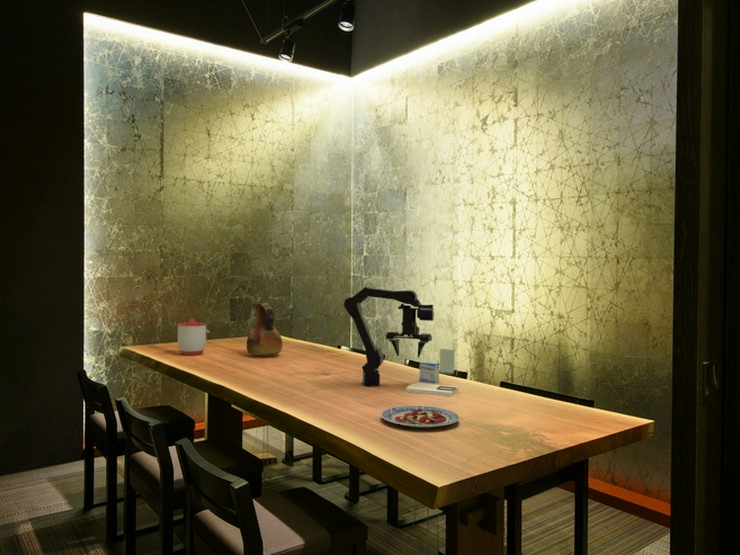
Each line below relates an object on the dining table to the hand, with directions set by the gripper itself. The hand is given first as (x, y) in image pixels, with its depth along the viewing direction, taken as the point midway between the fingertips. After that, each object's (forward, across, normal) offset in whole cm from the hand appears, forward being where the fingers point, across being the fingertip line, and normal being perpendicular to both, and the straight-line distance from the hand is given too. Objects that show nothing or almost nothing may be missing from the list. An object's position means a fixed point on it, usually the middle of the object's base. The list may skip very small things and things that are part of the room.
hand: (408, 356), depth 244 cm
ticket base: (+13, -11, +2) cm, 17 cm away
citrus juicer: (+13, +136, -30) cm, 140 cm away
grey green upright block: (+5, -18, +2) cm, 18 cm away
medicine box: (+13, -4, -17) cm, 22 cm away
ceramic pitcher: (+13, +99, -44) cm, 109 cm away
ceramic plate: (+14, -20, +49) cm, 55 cm away
